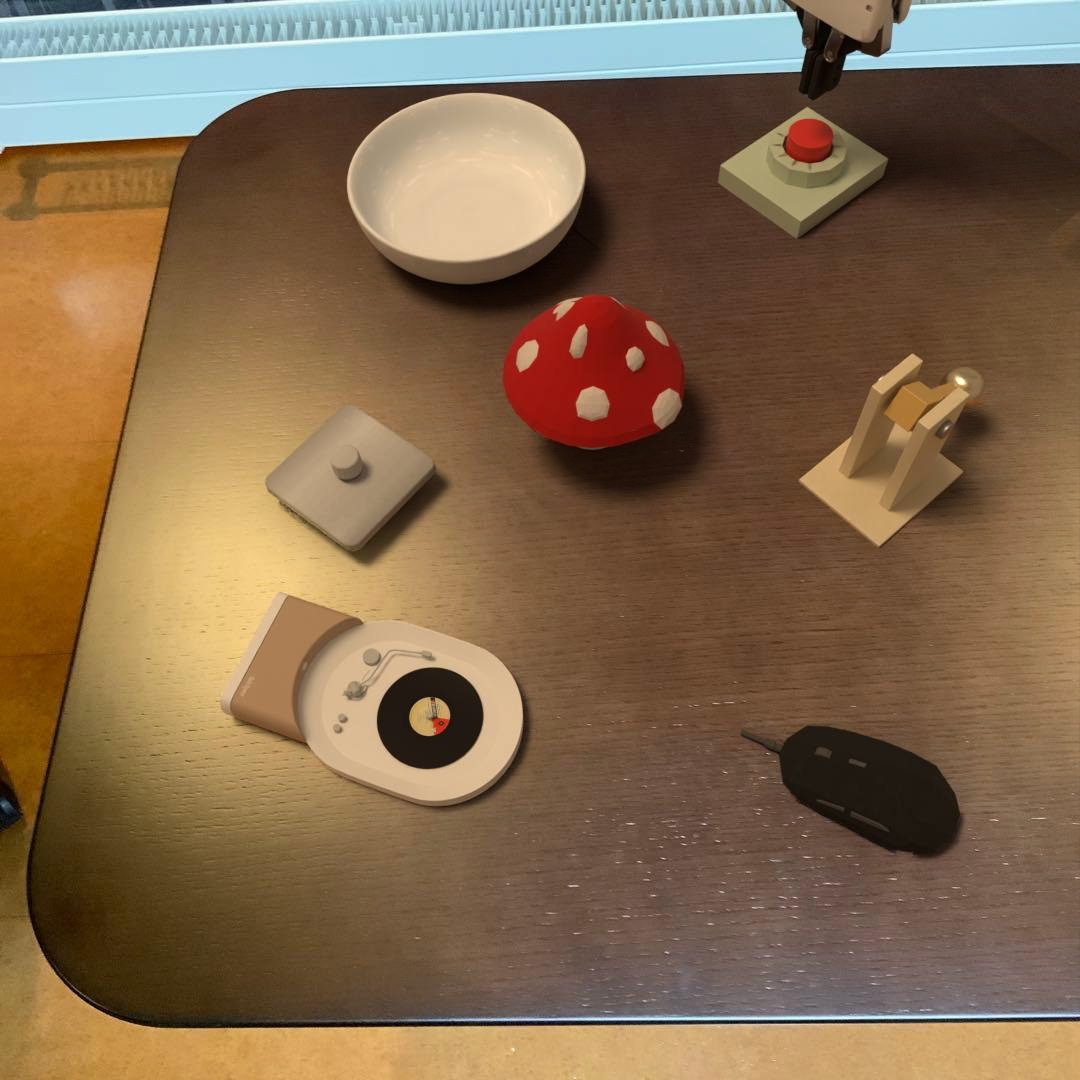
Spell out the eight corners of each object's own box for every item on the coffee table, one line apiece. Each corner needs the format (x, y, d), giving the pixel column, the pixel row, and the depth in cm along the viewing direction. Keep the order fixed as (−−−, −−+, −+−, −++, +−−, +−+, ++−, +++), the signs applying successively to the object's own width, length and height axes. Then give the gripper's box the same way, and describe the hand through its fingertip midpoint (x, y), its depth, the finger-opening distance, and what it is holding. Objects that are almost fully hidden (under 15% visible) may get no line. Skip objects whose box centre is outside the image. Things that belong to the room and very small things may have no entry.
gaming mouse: (757, 694, 74) (766, 672, 70) (965, 788, 70) (986, 770, 67) (723, 772, 71) (730, 753, 68) (937, 874, 67) (957, 860, 64)
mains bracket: (879, 418, 85) (921, 319, 75) (959, 479, 82) (1014, 385, 72) (796, 487, 82) (827, 394, 72) (875, 554, 79) (920, 466, 69)
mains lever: (941, 389, 83) (965, 355, 81) (974, 413, 81) (999, 380, 79) (874, 413, 74) (899, 377, 72) (910, 441, 73) (937, 404, 71)
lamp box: (803, 125, 103) (811, 90, 100) (882, 177, 99) (893, 142, 96) (717, 183, 99) (722, 148, 96) (796, 239, 95) (805, 205, 92)
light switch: (358, 567, 80) (346, 534, 75) (268, 501, 83) (251, 465, 79) (443, 480, 83) (435, 444, 79) (353, 420, 87) (341, 382, 82)
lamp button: (805, 128, 97) (809, 112, 96) (838, 149, 96) (842, 133, 94) (776, 148, 96) (779, 132, 95) (809, 170, 95) (813, 154, 93)
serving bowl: (331, 192, 100) (315, 131, 94) (532, 129, 104) (530, 67, 98) (403, 345, 90) (391, 289, 84) (623, 271, 94) (626, 211, 88)
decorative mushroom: (502, 366, 89) (490, 234, 76) (664, 354, 89) (679, 220, 76) (512, 507, 82) (501, 388, 69) (687, 494, 82) (709, 372, 69)
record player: (286, 573, 76) (546, 659, 72) (296, 592, 79) (546, 676, 75) (208, 718, 71) (484, 819, 67) (221, 733, 73) (486, 831, 70)
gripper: (991, -111, 73) (913, 113, 89) (828, -193, 79) (782, 30, 95) (922, -68, 71) (854, 153, 87) (759, -157, 76) (724, 66, 92)
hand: (817, 89), depth 91 cm, fingers closed
